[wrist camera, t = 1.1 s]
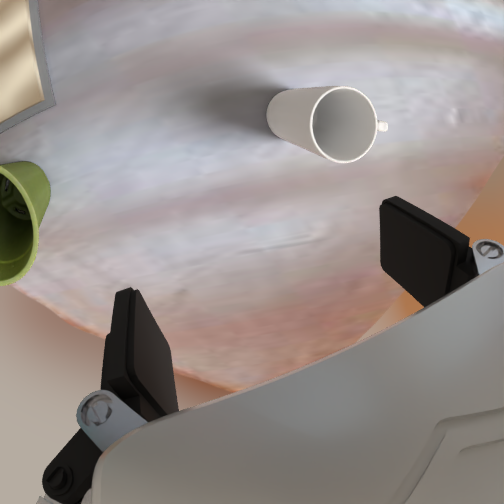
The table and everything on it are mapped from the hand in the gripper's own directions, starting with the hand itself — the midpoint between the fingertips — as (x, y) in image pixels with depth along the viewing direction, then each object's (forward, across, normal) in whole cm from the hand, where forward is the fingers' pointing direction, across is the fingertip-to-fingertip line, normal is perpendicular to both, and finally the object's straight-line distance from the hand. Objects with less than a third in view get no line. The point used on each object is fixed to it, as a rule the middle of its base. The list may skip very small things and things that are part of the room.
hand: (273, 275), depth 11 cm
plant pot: (+26, +20, -3) cm, 34 cm away
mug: (+26, -14, -1) cm, 30 cm away
